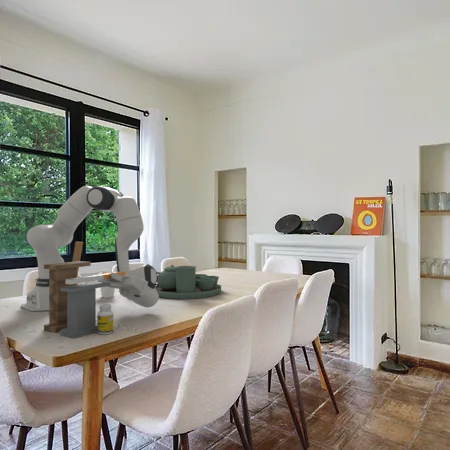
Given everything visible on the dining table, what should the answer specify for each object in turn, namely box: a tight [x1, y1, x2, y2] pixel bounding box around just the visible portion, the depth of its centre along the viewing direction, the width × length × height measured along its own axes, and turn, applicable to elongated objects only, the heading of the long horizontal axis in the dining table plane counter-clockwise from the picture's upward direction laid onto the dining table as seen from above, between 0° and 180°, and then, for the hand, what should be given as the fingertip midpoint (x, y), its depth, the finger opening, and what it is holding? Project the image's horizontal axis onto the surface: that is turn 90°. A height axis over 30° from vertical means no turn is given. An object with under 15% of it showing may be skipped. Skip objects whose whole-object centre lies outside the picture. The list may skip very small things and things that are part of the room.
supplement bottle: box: [96, 303, 114, 336], centre depth 127 cm, size 5×5×10 cm
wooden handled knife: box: [65, 271, 125, 284], centre depth 134 cm, size 3×25×2 cm, turn 150°
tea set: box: [156, 264, 222, 300], centre depth 206 cm, size 40×40×16 cm
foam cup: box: [98, 271, 116, 299], centre depth 195 cm, size 10×9×13 cm
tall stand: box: [43, 260, 92, 334], centre depth 135 cm, size 7×15×24 cm, turn 150°
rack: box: [59, 281, 110, 339], centre depth 129 cm, size 7×16×16 cm, turn 150°
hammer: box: [71, 241, 84, 285], centre depth 211 cm, size 20×5×30 cm, turn 82°
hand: (107, 274), depth 138 cm, fingers closed on wooden handled knife, 3 cm apart
